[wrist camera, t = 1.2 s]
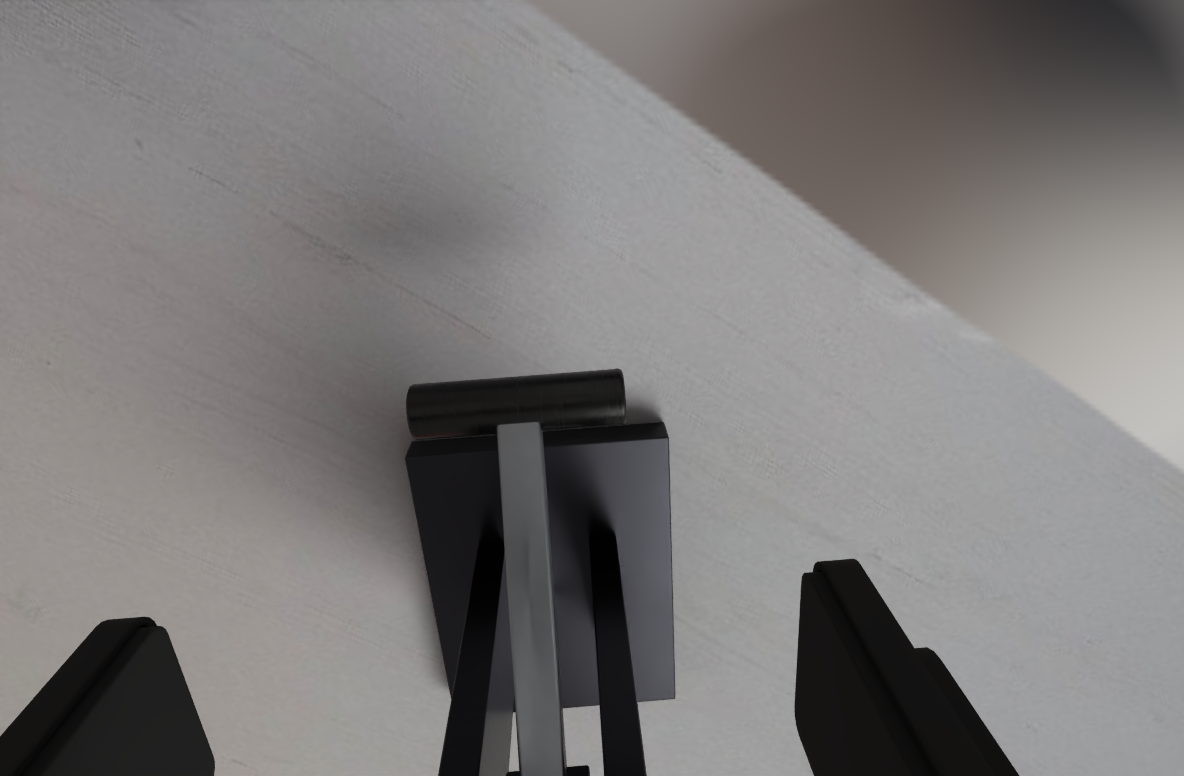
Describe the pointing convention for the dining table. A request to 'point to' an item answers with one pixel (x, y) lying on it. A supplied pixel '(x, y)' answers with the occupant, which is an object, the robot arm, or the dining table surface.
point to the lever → (525, 521)
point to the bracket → (580, 576)
